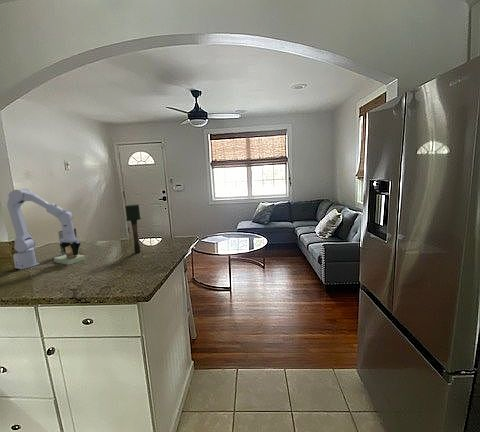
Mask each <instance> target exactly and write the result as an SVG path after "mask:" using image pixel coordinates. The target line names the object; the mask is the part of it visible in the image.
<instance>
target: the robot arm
mask: <svg viewBox="0 0 480 432" xmlns="http://www.w3.org/2000/svg"><path fill="white" fill-rule="evenodd" d="M7 196H8V200H7V203H6V206H7V209H8V213H9V217H10V220H11V222H12V223H11V224H12V225H13V229H14V233H15V235H16V236H15V238H14V240H13V242H14V246H13V248H14V250H15V251H16V253H14V254H13V255H12V257H13V262H14V269H18V270H25V269H28V268H32V267H36V266H39V265H40V262H39V263H38V262H37V259H36V254H35V253H36V252H35V248H34V247H35V245H36V241H35V239H34V238H33V237H32V234H30V233H29V231H28V228H27V225H26V221H25V218H24V216H23V211H22V209H21V206H22V205H23V204H24V203H25V202H33V203H34V204H36V205H39V206H40V207H42V208H44V209H46V212H47V213H49V214H50V215H52V216H54V217H55V218H57V219H58V221H59V222H60V224H61V231H62V232H63V238H64V239H59V238H58V242H59V246H61V247H62V248H63V250H64V251H65V247H67V246H71V248H72V250H73V254H74V255H78V254H79V252H78V249H79V250H80V246H81V243H82V240H81V239H79V238H77V239H76V238H75V234H74V229H75V228H74V223H73V218H74V213H73V212H72V211H71V210H67V209H65V208H62V207H61V206H59V204H58V203H50V202H48V201H47V200H45V199H43V198H42V197H41V196H39V195H37V194H36V193H35V192H34V191H31V190H30V189H27V188H22V189H13V190H11V191H10V192H9V193H8V194H7ZM60 243H62V244H60ZM70 243H73V244H70ZM61 247H60V248H61ZM65 253H66V251H65Z"/></svg>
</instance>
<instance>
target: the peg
mask: <svg viewBox="0 0 480 432" xmlns="http://www.w3.org/2000/svg"><path fill="white" fill-rule="evenodd" d="M65 251H66V256H67V257H68V258H70V259H71V258H75V256H77V255H74V254H73V250H72V248H71V246H67V247H65Z"/></svg>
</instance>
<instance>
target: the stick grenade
mask: <svg viewBox="0 0 480 432" xmlns="http://www.w3.org/2000/svg"><path fill="white" fill-rule="evenodd" d="M124 209H125V214H126V221H127V222H130V223H131V229H132V230H131V231H132V234H133V248H134V249H133V250H134V253H135V254H139V253H141V246H140V242H139V234H138V233H139V232H138V221H140V220H141V219H142V217H141V211H140V205H139V204H129V205H125V208H124Z"/></svg>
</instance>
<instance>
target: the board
mask: <svg viewBox="0 0 480 432" xmlns="http://www.w3.org/2000/svg"><path fill="white" fill-rule="evenodd" d="M86 258H87V257H86V255H84V254H83V255H82V254H79V253H78V255H77V256H75V258H71V259H70V258H68V257H67V256H66V255H62V254H61V255H59V256H55V257H53V262H54V263H58V264H62V265H67V266H69V265H73V264H76V263H79V262H83V261H86Z"/></svg>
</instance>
